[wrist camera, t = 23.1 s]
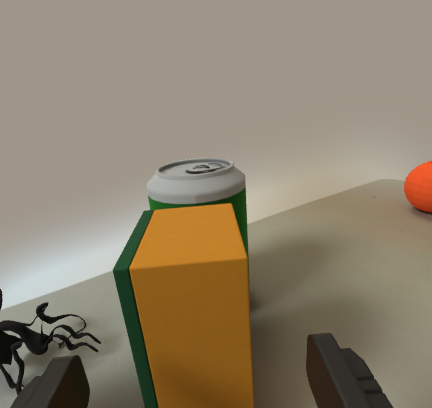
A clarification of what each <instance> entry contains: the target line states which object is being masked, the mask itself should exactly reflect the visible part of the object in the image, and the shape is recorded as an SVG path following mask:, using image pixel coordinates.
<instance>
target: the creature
mask: <svg viewBox="0 0 432 408" xmlns="http://www.w3.org/2000/svg"><path fill="white" fill-rule="evenodd" d="M47 306H48V303H43V304H41V305H39V306H38V307H37V309H36V313H37V316H36V317H35V319H36V318H37V317H39V318H40V319H41V320H42V321H45V322H47V323H48V324H52V323H54V322H56V321H57V320H59V319H62V318H64V317H67V316H70V315H71V316H75V317H79V316H77V315H72V314H67V315H61V316H57V317H49V316H46V315H45V314H44V311H45V309H46V307H47ZM1 307H2V291H1V289H0V310H1ZM44 307H45V308H44ZM43 308H44V309H43ZM42 309H43V310H42ZM79 318H81V317H79ZM35 319H34V321H35ZM81 319H82V318H81ZM82 320H83V319H82ZM34 321H33V322H32V323H31V324H26V323H20V322H16V321H9V320H7V321H2V322H0V369H1V370H2V372H3V374H4V376H5V378H6V380H7V383H8V385H9V387H10V388H15V387H16V391H17V395H19V393H20V392H21V391H22V389H21V386H22V387H25V386H23V385H22V379H23V375H24V361H23V360H22V359H21V358H20V357H19V355H18V352H17V351H16V350H17V349H18V348H20V347H21V346H22V343H23V342H24V343H25V345H26V346H27V348H28V349H29V350H30V351H31V352H32V353H34V354H36V355H41V354H44V353H45V352H46V351H47V350H48V344H49V343H50V342H52V341H53V337H57V338H60V339H61V340H62V341H63V342H62V343H59V344H58V345H59V348H60V347H61V345H62V344H63V343H64V342H65V344H66V346H67V348H68V349H69V350H74V349H76V348H78V347H79V346H83V345H86V346H88V347H90V348H91V349H92V350H94V351H96V352H98V350H97V349H96V348H94V347H93V346H91V345H89V344H87V343H84V342H80V343H78V344H75V345H74V344H72V343H71V342H70V340H69V339H68V338H70V337H71V336H72V337H73V338H75V339H79V338H81V337H83V336H86V335H88V336H90V337H91V338H92V339H93V340H94V341H96V342H97V343H99V344H101V342H100V341H99V340H98V339H96V338H95V337H94V336H93V335H91V334H90V333H80V334H76V333H78V332H80V331H81V330H83V329H84V328H85V327H86V323H85V321H84V320H83V321H84V323H85V326H84V328H83V329H81V330H80V331H77V332H74V330H73V329H72V328H71V327H69V326H67V325H60V326H57V327H55V328H54V329H53V331H52V332H51V334H50V336H48V335H46V334H43V331H42V326H41V334H40V333H37V332H35V331H33V330H31V329H29V328H27V327H26V326H31V325H32V324H33V323H34ZM59 327H62V328H63V329H65V330H66V331H68V332H69V333H70V334H71V336H69V337H68V338H67V337H66V336H64V335H59V334H55V335H53V333H54V330H55V329H56V328H59ZM3 331H12V332H15V333H17V334H19V335H20V337H21V338H22V339H21V338H18V337H16V336H12V335H8V334H7V333H5V332H3ZM54 342H56V341H54ZM12 354H13V356H14V359H15V361H16V362H17V364H18V365H19V375H18V381H17V384H15V383H14V382H13V380H12V378H11V376H10V375H9V374H8V373H7V372H6V370H5V369H4V367H3V365H2V364H9V365H11V362H12Z"/></svg>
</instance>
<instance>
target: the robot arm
mask: <svg viewBox="0 0 432 408" xmlns="http://www.w3.org/2000/svg"><path fill="white" fill-rule="evenodd" d="M306 371H307V377H308V381H309V385H310V388H311V390H312V393H313V396H314V398H315V401H316V404H317V406H318V408H393V407H392V405H391V403H390V402H389V400H388V399H387V397H386V395H385V394H384V393H383V392H382V389H381V387H380V386H379V384H378V382H377V381H376V380H375V379H374V376H373V374H372V373H371V371H370V370H369V368H368V366H367V365H366V363H365V362H364V360H363V359H361V358H360V357H359V356H358V355H357V354H356V353H355V352H354V351H352V350H351V349H350V348H345V349H340V347H339V346H338V344H337V342H336V340H335V338H334V337H333V335H332V334H331V333H321V334H310V335H308V338H307V358H306ZM89 396H90V388H89V383H88V380H87V377H86V374H85V371H84V368H83V365H82V361H81V359H80V357H79V356H78V355H74V356H64V357H55V358H53V359H52V360H51V362H50V363H49V365H48V367H47V368H46V370H45V372H44V373H43V375H42V376H36V377H35V378H34V379H33V380H32V381H31V382H30V383H29V384H28V385H27V386H26V387H25V388H24V389H23V390H22V391H21V392H20V393H19V395H18V396H17V398H16V399H15V401H14V402H13V404H12V406H11V407H10V408H87V406H88V402H89Z"/></svg>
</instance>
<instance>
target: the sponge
mask: <svg viewBox="0 0 432 408" xmlns="http://www.w3.org/2000/svg"><path fill="white" fill-rule="evenodd" d="M113 274H114V278H115V282H116V286H117V290H118V295H119V299H120V303H121V307H122V312H123V316H124V320H125V324H126V329H127V333H128V337H129V341H130V345H131V350H132V354H133V358H134V362H135V367H136V371H137V375H138V379H139V384H140V388H141V392H142V396H143V401H144V405H145V408H254V393H253V369H252V346H251V323H250V300H249V277H248V258H247V254H246V251H245V247H244V244H243V240H242V237H241V234H240V230H239V227H238V223H237V220H236V217H235V213H234V210H233V206H232V204H231V203H228V204H217V205H205V206H194V207H183V208H171V209H160V210H148V211H144V212H143V214H142V216H141V218H140V220H139V222H138V223H137V225H136V227H135V229H134V231H133V233H132V235H131V236H130V238H129V240H128V242H127V244H126V246H125V248H124V250H123V252H122V254H121V255H120V257H119V259H118V261H117V263H116V265H115V267H114V269H113Z"/></svg>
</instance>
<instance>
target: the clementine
mask: <svg viewBox="0 0 432 408" xmlns="http://www.w3.org/2000/svg"><path fill="white" fill-rule="evenodd" d="M404 192H405V195H406V198H407V199H408V201H409V202H410V203H411V204H412V205H413V206H415V207H416V208H417V209H419V210H422V211H425V212H430V213H432V161H431V162H426V163H423V164H421V165H419V166H417V167H416V168H415V169H414V170H412V171H411V172H410V173H409V175H408V176H407V178H406V181H405V184H404Z"/></svg>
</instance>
